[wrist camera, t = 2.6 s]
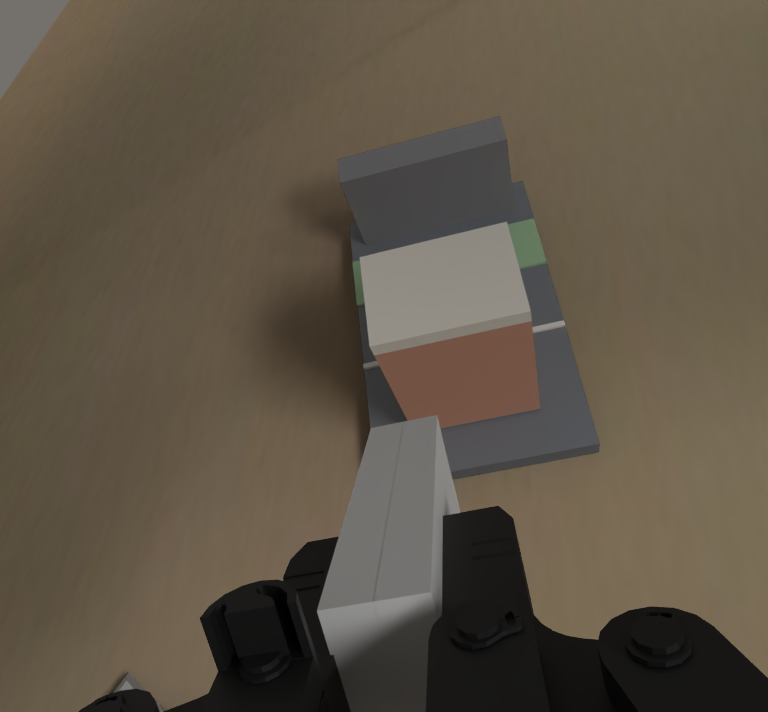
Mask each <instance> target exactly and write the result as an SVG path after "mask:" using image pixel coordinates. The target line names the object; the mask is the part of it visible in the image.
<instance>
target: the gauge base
mask: <svg viewBox="0 0 768 712" xmlns="http://www.w3.org/2000/svg"><path fill="white" fill-rule="evenodd" d="M338 169H339V179H340V184H341V187H342V189H343V192H344V194H345V196H346V199H347V201H348V204H349V206H350V208H351V211H352V213H353V216H354V218H355V220H356V223H352V224H349V228H350V238H351V248H352V257H353V262H352V263H353V273H354V283H355V292H356V302H357V306H358V315H359V324H360V334H361V343H362V353H363V363H364V364H363V368H364V372H365V382H366V391H367V401H368V410H369V420H370V430H371V428H374V427H379V426H384V425H389V424H394V423H399V422H404V421H408V420H407V418H406V416H405V415H404V413H403V411H402V409H401V407H400V405H399V403H398V401H397V399H396V397H395V395H394V393H393V391H392V389H391V387H390V385H389V383H388V382H387V380H386V378H385V376H384V374H383V372H382V370H381V368H380V366H379V364H378V362H377V360H376V358H375V356H374V354H373V352H372V350H371V349H370V347H369V338H368V329H367V320H366V311H365V302H364V293H363V284H362V275H361V266H360V257H363V256H367V255H371V254H375V253H379V252H383V251H387V250H392V249H396V248H400V247H404V246H408V245H412V244H416V243H420V242H425V241H429V240H433V239H437V238H441V237H445V236H449V235H454V234H458V233H462V232H466V231H470V230H474V229H478V228H482V227H487V226H491V225H495V224H499V223H503V222H507V223H508V227H509V231H510V235H511V239H512V242H513V246H514V250H515V254H516V257H517V261H518V265H519V269H520V272H521V276H522V280H523V284H524V287H525V291H526V295H527V299H528V303H529V306H530V310H531V319H532V329H533V339H534V349H535V359H536V369H537V379H538V389H539V399H540V409H537V410H532V411H526V412H521V413H516V414H511V415H506V416H501V417H496V418H491V419H486V420H481V421H476V422H471V423H466V424H461V425H456V426H451V427H446V428H441V434H442V438H443V442H444V446H445V450H446V455H447V459H448V463H449V467H450V471H451V475H452V479H458V478H463V477H468V476H474V475H479V474H484V473H490V472H495V471H500V470H506V469H511V468H517V467H522V466H527V465H533V464H538V463H543V462H549V461H554V460H559V459H565V458H570V457H576V456H581V455H586V454H592V453H597V452H599V446H600V443H599V439H598V436H597V433H596V429H595V426H594V422H593V419H592V416H591V412H590V409H589V405H588V402H587V399H586V395H585V392H584V388H583V385H582V382H581V378H580V375H579V371H578V368H577V365H576V361H575V358H574V354H573V351H572V348H571V344H570V341H569V337H568V334H567V331H566V327H565V322H564V320H563V317H562V314H561V310H560V307H559V303H558V300H557V297H556V293H555V290H554V286H553V283H552V279H551V276H550V273H549V269H548V266H547V261H546V257H545V254H544V251H543V247H542V244H541V240H540V237H539V234H538V230H537V227H536V223H535V220H534V218H533V215H532V211H531V208H530V205H529V201H528V198H527V194H526V191H525V188H524V184H523V181H520V182H516V183H512V184H511V175H510V166H509V157H508V148H507V139H506V136H505V132H504V129H503V125H502V122H501V118H500V116H498V117H494V118H491V119H487V120H483V121H479V122H476V123H472V124H468V125H464V126H461V127H457V128H453V129H449V130H446V131H442V132H438V133H434V134H431V135H427V136H423V137H419V138H416V139H412V140H408V141H404V142H400V143H397V144H393V145H389V146H385V147H382V148H378V149H374V150H370V151H367V152H363V153H359V154H355V155H352V156H348V157H344V158H340V159H338Z"/></svg>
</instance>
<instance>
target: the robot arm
mask: <svg viewBox="0 0 768 712" xmlns="http://www.w3.org/2000/svg"><path fill="white" fill-rule="evenodd" d="M283 579H284V581H280V580H265V581H258V582H254V583H251V584H247V585H244V586H241V587H239V588H237V589H235V590H233V591H231V592H229V593H227V594H225V595H223V596H222V597H221V598H219V599H218V600H217V601H215V602H214V603H213V604H211V605H210V606H209V607H208V609H207V610H206V611H205V612H204V614H203V615H202V616H201V617H200V620H201V623H202V626H203V629H204V632H205V635H206V637H207V640H208V643H209V646H210V649H211V652H212V654H213V657H214V660H215V663H216V666H217V669H218V674H217V676H216V678H215V680H214V682H213V685H212V687H211V689H210V691H209V693H208V694H206V695H204V696H202V697H200V698H198V699H195V700H193V701H190V702H188V703H185V704H182V705H180V706H177V707H175V708H172V709H169V710H167V711H164V712H768V678H767V677H766V676H765V675H764V674H763V673H762V672H761V671H760V670H759V669H758V668H757V667H756V666H754V665H753V664H752V663H751V662H750V661H749V660H748V659H747V658H746V657H745V656H744V655H743V654H742V653H741V652H740V651H739V650H738V649H737V648H736V647H735V646H733V645H732V644H731V643H730V642H729V641H728V640H727V639H726V638H725V637H724V636H723V635H722V634H721V633H720V632H719V631H718V630H717V629H716V628H715V627H714V626H712V625H711V624H709V623H708V622H706V621H705V620H703V619H702V618H700V617H699V616H697V615H695V614H692V613H689V612H685V611H682V610H679V609H676V608H666V607H646V608H640V609H635V610H629V611H627V612H625V613H623V614H621V615H619V616H617V617H615V618H613V619H611V620H610V621H609V623H608V624H607V625H606V626H605V627H604V628H603V629H602V630H601V631H600V635H599V640H594V639H583V638H577V637H571V636H566V635H563V634H560V633H558V632H555V631H552V630H551V629H549V628H548V627H546V626H544V625H543V624H541V622H540V621H539V620H538V619H537V618H536V617H535V616H534V614H533V608H532V603H531V598H530V593H529V589H528V584H527V580H526V575H525V571H524V566H523V562H522V557H521V552H520V548H519V543H518V539H517V534H516V530H515V525H514V521H513V518H512V517H511V516H510V515H509V514H507V513H506V512H505V511H504V510H503V509H501V508H500V507H499V506H495V507H489V508H484V509H478V510H473V511H467V512H462V513H460V509H459V505H458V501H457V496H456V492H455V488H454V484H453V480H452V475H451V471H450V467H449V463H448V459H447V455H446V450H445V446H444V442H443V438H442V434H441V429H440V425H439V421H438V417H437V415H434V416H429V417H424V418H419V419H414V420H409V421H404V422H399V423H394V424H389V425H384V426H379V427H374V428H371V430H370V433H369V437H368V440H367V443H366V447H365V450H364V453H363V457H362V460H361V464H360V467H359V470H358V474H357V477H356V480H355V484H354V487H353V491H352V494H351V497H350V501H349V504H348V507H347V511H346V514H345V518H344V521H343V524H342V528H341V531H340V534H339V537H334V538H329V539H323V540H317V541H312V542H307V543H306V544H305V545H304V546H303V547H302V548H301V549H300V550H299V551H298V552H297V553H296V554H295V556H294V557H293V558H292V559H291V560H290V562H289V564H288V567H287V569H286V572H285V574H284V577H283ZM79 712H160V711H159V708H158V706H157V703H156V701H155V699H154V698H153V697H152V695H151V694H150V692H147V691H144V690H140V689H129V690H121V691H118V692H115V693H111V694H109V695H105V696H103V697H101V698H98V699H97V700H95V701H94V702H93V703H91V704H89V705H88V706H86V707H85V708H83V709H81V710H80V711H79Z"/></svg>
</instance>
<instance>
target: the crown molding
mask: <svg viewBox="0 0 768 712" xmlns="http://www.w3.org/2000/svg"><path fill="white" fill-rule="evenodd" d="M129 689H140V690H144V691H146V690H145V689H144V688H143V687H142V686H141V685H140V684H139V683H138V682H137V681H136V680H135V679H134V678H133V677H132V676H131V675H130V674H129V673H128V674H127V675H126V676H125V678H124V679H123V680H122V682H121V683H120V684H119V686H118V687H117V688H116V690H115V691H114V692H113V693H115V692H118V691H121V690H129ZM155 701H156V700H155ZM156 703H157V706H158V708H159V711H160V712H163V710H162V708H161V706H160V704H159V703H158V702H157V701H156Z"/></svg>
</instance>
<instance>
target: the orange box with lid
mask: <svg viewBox="0 0 768 712" xmlns="http://www.w3.org/2000/svg"><path fill="white" fill-rule="evenodd" d="M360 266H361V275H362V284H363V293H364V302H365V311H366V320H367V329H368V338H369V347H370V349H371V350H372V352H373V354H374V356H375V358H376V360H377V362H378V364H379V366H380V368H381V370H382V372H383V374H384V376H385V378H386V380H387V382H388V383H389V385H390V387H391V389H392V391H393V393H394V395H395V397H396V399H397V401H398V403H399V405H400V407H401V409H402V411H403V413H404V415H405V416H406V418H407V420H408V421H409V420H414V419H419V418H424V417H429V416H434V415H437V417H438V421H439V425H440V429H441V428H446V427H451V426H456V425H461V424H466V423H471V422H476V421H481V420H486V419H491V418H496V417H501V416H506V415H511V414H516V413H521V412H526V411H532V410H537V409H540V399H539V389H538V379H537V369H536V359H535V349H534V339H533V329H532V319H531V310H530V306H529V303H528V299H527V295H526V291H525V287H524V284H523V280H522V276H521V272H520V269H519V265H518V261H517V257H516V254H515V250H514V246H513V242H512V239H511V235H510V231H509V227H508V223H507V222H503V223H499V224H495V225H491V226H487V227H482V228H478V229H474V230H470V231H466V232H462V233H458V234H454V235H449V236H445V237H441V238H437V239H433V240H429V241H425V242H420V243H416V244H412V245H408V246H404V247H400V248H396V249H392V250H387V251H383V252H379V253H375V254H371V255H367V256H363V257H360Z"/></svg>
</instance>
